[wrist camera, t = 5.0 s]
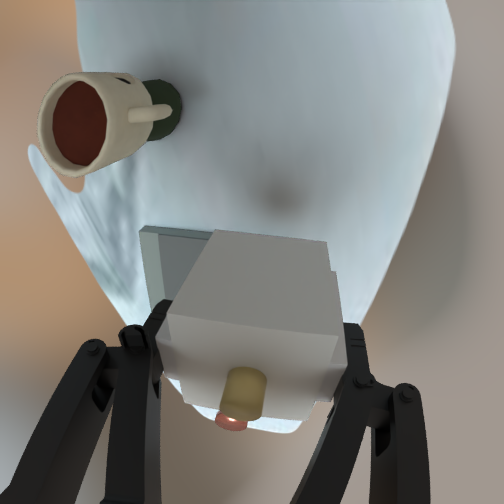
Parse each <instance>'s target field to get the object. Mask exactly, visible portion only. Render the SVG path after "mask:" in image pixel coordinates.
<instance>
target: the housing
mask: <svg viewBox="0 0 504 504" xmlns="http://www.w3.org/2000/svg"><path fill="white" fill-rule="evenodd" d="M167 319H168V325H169V330H170V336H171V342H172V347H173V352H174V357H175V362H176V367H177V372H178V377H179V381H180V386H181V390H182V395H183V399H184V403H188V404H192V405H197V406H202V407H207V408H212V409H217V410H220V411H221V412H222V413H223V414H224V415H225V416H227V417H229V418H231V419H234V420H238V421H254V420H257V419H259V418H260V417H269V418H278V419H288V420H300V421H307V420H308V418H309V415H310V413H311V411H312V408H313V406H314V403H315V401H316V398H317V396H318V393H319V390H320V388H321V385H322V382H323V380H324V377H325V374H326V372H327V369H328V366H329V363H330V360H331V358H332V355H333V352H334V349H335V346H336V343H337V340H338V337H339V333H338V323H337V314H336V306H335V298H334V290H333V282H332V275H331V268H330V261H329V254H328V248H327V242H322V241H314V240H305V239H297V238H288V237H279V236H270V235H261V234H252V233H243V232H233V231H224V230H215V231H214V232H213V234H212V235H211V237H210V239H209V240H208V242H207V244H206V245H205V247H204V249H203V250H202V252H201V254H200V256H199V257H198V259H197V261H196V262H195V264H194V266H193V267H192V269H191V271H190V273H189V274H188V276H187V278H186V279H185V281H184V283H183V285H182V286H181V288H180V290H179V292H178V293H177V295H176V297H175V299H174V300H173V302H172V304H171V306H170V308H169V309H168V311H167Z"/></svg>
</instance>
